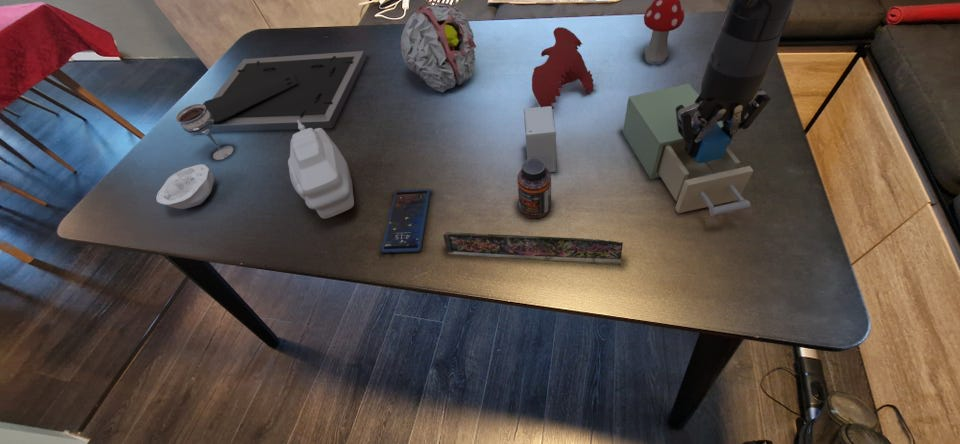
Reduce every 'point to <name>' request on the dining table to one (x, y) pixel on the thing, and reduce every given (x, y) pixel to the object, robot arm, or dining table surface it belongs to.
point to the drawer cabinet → (655, 123)
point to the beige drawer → (703, 180)
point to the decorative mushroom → (661, 27)
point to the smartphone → (406, 222)
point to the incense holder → (534, 248)
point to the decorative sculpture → (439, 45)
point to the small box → (541, 135)
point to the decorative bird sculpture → (560, 68)
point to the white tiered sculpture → (320, 172)
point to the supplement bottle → (534, 188)
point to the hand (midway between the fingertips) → (705, 150)
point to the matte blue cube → (712, 145)
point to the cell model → (187, 187)
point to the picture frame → (285, 92)
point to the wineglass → (201, 126)
